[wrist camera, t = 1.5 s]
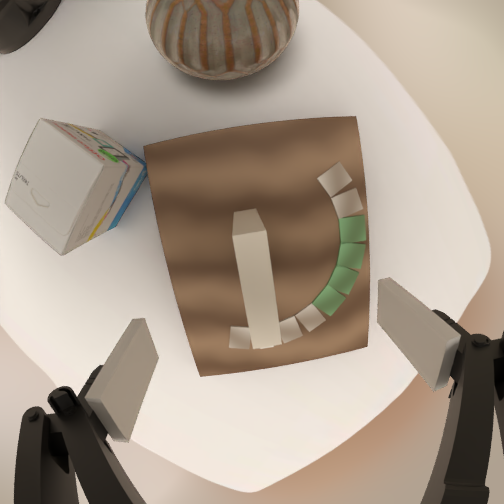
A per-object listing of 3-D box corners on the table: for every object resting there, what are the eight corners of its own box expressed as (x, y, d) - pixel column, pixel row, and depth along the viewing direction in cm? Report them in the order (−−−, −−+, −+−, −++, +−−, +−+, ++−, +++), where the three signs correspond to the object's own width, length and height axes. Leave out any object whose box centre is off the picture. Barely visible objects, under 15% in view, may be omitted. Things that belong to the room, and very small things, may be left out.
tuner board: (149, 147, 28) (142, 146, 26) (349, 119, 28) (357, 115, 26) (201, 367, 36) (199, 378, 34) (362, 338, 36) (368, 347, 34)
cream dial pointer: (234, 209, 28) (232, 235, 17) (254, 205, 28) (266, 230, 17) (258, 346, 32) (267, 420, 21) (274, 343, 32) (290, 416, 21)
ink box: (153, 166, 29) (107, 166, 17) (114, 229, 30) (61, 260, 19) (98, 127, 27) (38, 115, 16) (64, 190, 28) (1, 204, 17)
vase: (222, 118, 28) (204, 57, 11) (143, 50, 24) (74, -29, 8) (308, 47, 25) (369, -41, 9) (228, -15, 22) (225, -113, 6)
